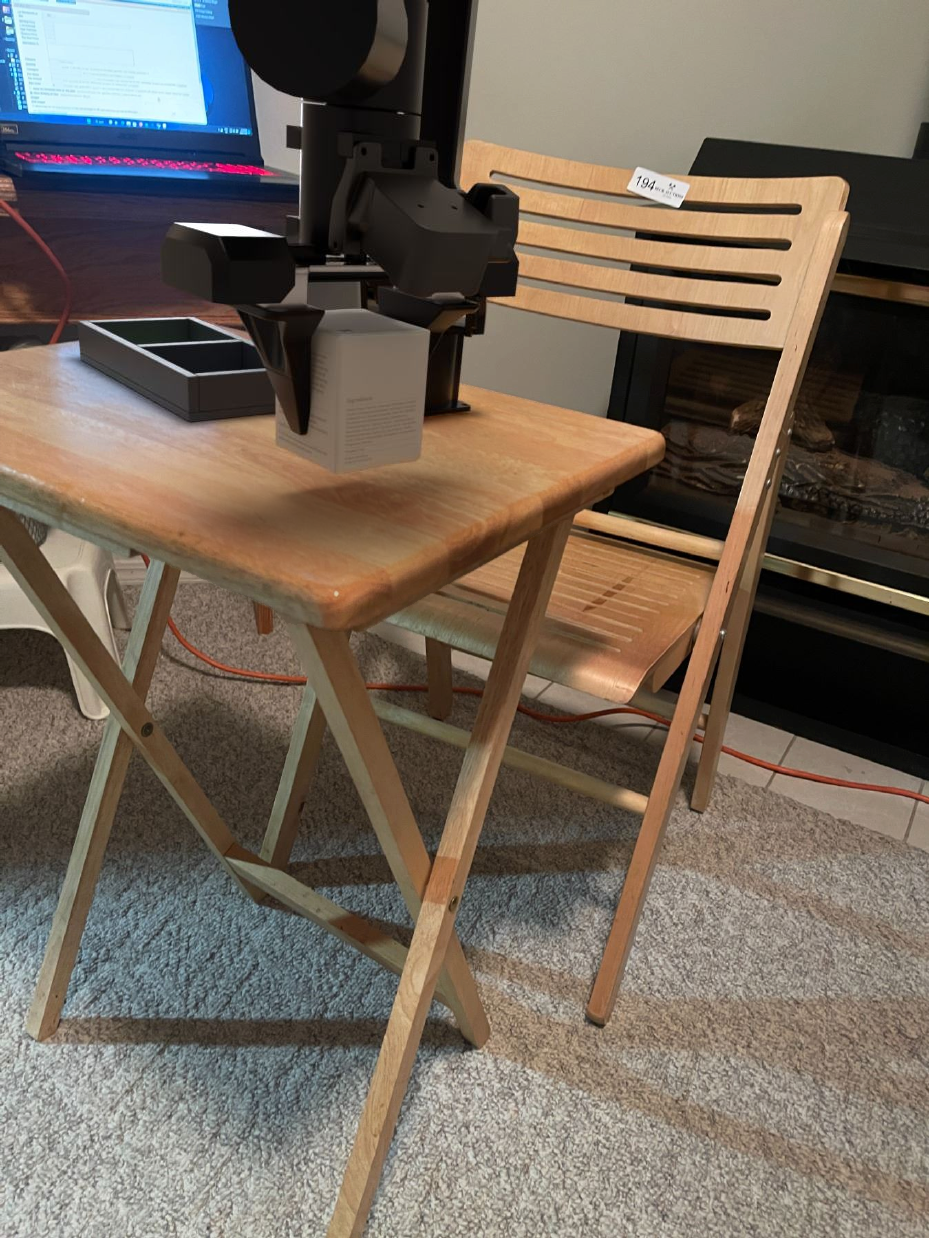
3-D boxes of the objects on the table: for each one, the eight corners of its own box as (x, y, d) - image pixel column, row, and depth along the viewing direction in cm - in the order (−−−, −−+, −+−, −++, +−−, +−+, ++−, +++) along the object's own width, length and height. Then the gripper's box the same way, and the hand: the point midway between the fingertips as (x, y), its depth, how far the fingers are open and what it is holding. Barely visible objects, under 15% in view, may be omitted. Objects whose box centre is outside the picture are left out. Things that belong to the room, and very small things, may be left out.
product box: (423, 462, 53) (434, 329, 49) (333, 478, 49) (338, 335, 46) (359, 433, 57) (365, 307, 53) (271, 445, 53) (272, 311, 49)
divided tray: (194, 352, 83) (193, 316, 82) (314, 408, 71) (315, 367, 69) (80, 359, 77) (76, 320, 76) (189, 422, 64) (187, 377, 63)
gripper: (279, 95, 34) (276, 500, 41) (614, 138, 46) (567, 448, 53) (147, 84, 41) (163, 430, 48) (465, 123, 53) (441, 398, 60)
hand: (347, 427), depth 52 cm, fingers closed on product box, 6 cm apart
